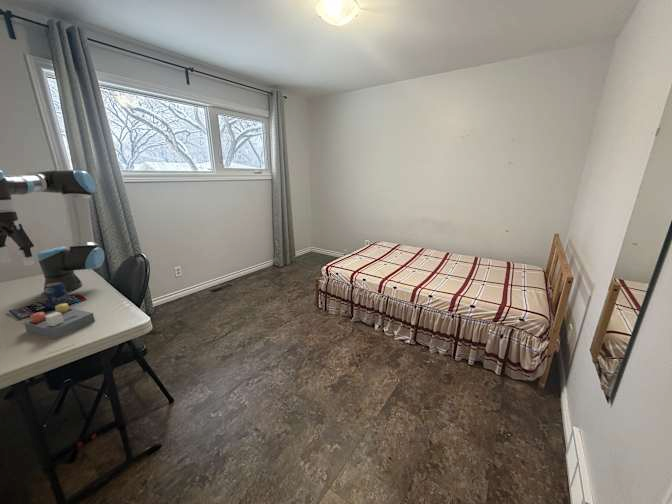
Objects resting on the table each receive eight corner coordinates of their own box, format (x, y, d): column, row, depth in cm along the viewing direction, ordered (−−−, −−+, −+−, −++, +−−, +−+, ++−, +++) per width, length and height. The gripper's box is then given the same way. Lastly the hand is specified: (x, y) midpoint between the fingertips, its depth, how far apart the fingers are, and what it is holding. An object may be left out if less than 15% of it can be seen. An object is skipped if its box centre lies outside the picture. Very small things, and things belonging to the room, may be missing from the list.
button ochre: (54, 312, 117) (52, 306, 116) (65, 308, 120) (63, 302, 120) (60, 314, 116) (58, 308, 115) (71, 309, 119) (69, 303, 118)
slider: (48, 325, 107) (44, 316, 106) (59, 320, 110) (56, 311, 109) (53, 326, 106) (50, 317, 105) (64, 321, 109) (61, 313, 108)
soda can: (58, 310, 127) (50, 287, 123) (46, 309, 128) (38, 286, 125) (74, 303, 133) (67, 281, 130) (63, 302, 134) (56, 280, 131)
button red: (30, 322, 110) (27, 315, 109) (42, 317, 113) (40, 311, 112) (36, 323, 108) (33, 317, 107) (48, 318, 112) (46, 312, 111)
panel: (27, 331, 110) (23, 322, 109) (68, 314, 123) (65, 306, 122) (54, 339, 105) (51, 330, 104) (95, 321, 118) (92, 312, 117)
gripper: (-36, 211, 102) (-17, 264, 108) (9, 212, 97) (27, 268, 102) (-8, 209, 109) (9, 259, 115) (36, 210, 104) (51, 262, 109)
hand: (17, 264), depth 109 cm, fingers open, 13 cm apart
